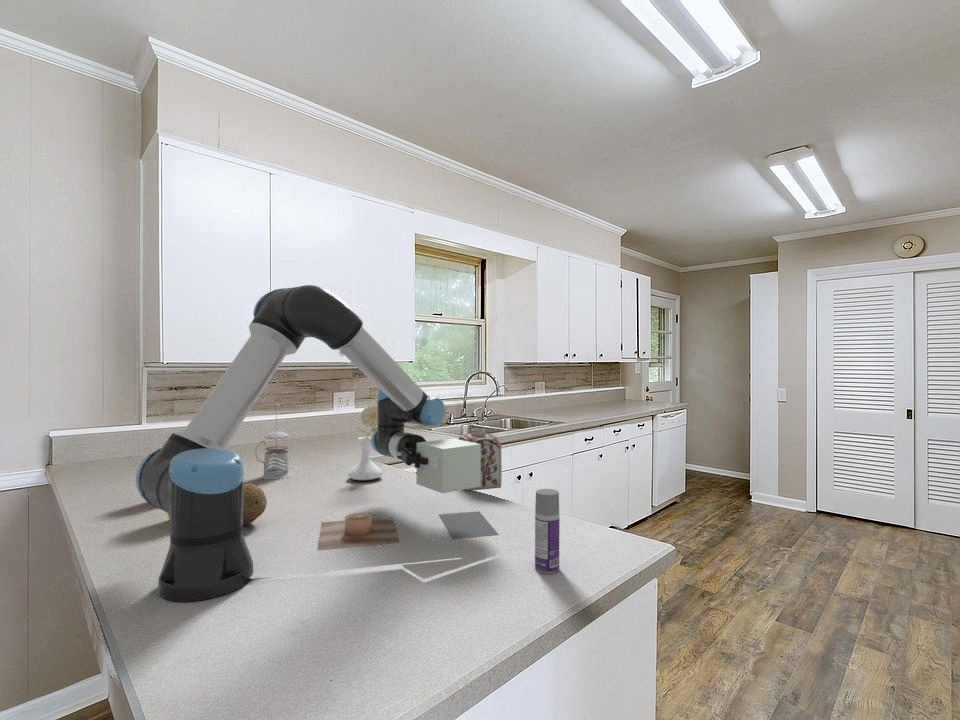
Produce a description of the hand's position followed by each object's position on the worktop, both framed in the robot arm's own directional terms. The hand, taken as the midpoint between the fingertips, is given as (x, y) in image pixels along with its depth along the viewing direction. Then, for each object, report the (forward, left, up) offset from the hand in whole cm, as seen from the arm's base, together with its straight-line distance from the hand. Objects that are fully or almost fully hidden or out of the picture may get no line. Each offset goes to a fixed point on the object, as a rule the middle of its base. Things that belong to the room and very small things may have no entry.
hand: (458, 460), depth 118 cm
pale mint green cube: (+4, +2, -7) cm, 8 cm away
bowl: (+4, +23, -16) cm, 28 cm away
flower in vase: (+58, +19, -17) cm, 63 cm away
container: (-24, -12, -17) cm, 32 cm away
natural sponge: (+18, +49, -17) cm, 54 cm away
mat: (+4, +2, -17) cm, 17 cm away
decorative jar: (+41, -15, -17) cm, 47 cm away
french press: (+70, +50, -17) cm, 87 cm away
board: (+4, +23, -17) cm, 28 cm away
